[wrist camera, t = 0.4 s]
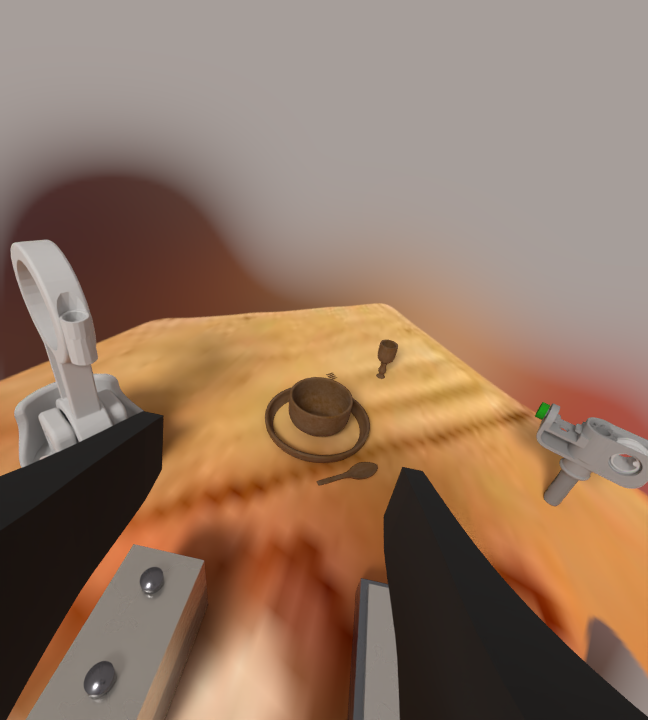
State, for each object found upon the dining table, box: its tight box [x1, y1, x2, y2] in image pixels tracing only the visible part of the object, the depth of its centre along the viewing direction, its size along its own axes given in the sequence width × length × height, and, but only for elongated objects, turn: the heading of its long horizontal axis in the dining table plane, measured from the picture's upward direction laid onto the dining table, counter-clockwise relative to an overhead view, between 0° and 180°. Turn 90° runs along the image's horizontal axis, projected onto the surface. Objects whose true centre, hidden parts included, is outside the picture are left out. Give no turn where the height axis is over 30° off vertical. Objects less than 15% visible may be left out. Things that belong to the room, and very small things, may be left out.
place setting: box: [265, 340, 398, 485], centre depth 42 cm, size 18×20×6 cm
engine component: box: [11, 240, 143, 467], centre depth 28 cm, size 11×20×10 cm
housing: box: [26, 544, 208, 720], centre depth 20 cm, size 8×4×7 cm, turn 171°
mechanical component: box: [535, 402, 648, 506], centre depth 34 cm, size 3×10×10 cm, turn 52°
